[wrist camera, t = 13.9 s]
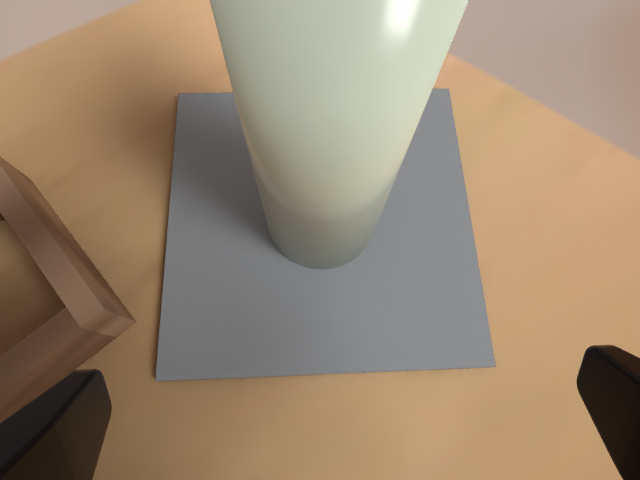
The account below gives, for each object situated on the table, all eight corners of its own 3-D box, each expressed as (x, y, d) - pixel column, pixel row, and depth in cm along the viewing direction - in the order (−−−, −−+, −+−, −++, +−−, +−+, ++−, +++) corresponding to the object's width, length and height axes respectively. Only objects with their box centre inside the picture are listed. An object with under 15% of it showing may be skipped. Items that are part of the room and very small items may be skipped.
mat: (491, 367, 18) (495, 366, 18) (158, 381, 18) (155, 381, 17) (446, 93, 23) (448, 88, 23) (180, 98, 22) (178, 93, 22)
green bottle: (302, 290, 19) (286, 55, 6) (247, 200, 20) (130, -160, 7) (396, 234, 20) (571, -78, 7) (337, 152, 21) (386, -245, 8)
